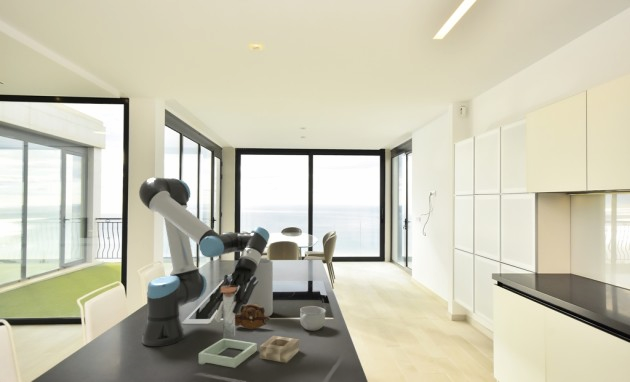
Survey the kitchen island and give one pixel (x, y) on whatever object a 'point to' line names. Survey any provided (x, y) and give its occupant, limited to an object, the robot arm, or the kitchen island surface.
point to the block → (279, 348)
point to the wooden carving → (251, 316)
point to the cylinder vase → (263, 287)
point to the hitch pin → (228, 309)
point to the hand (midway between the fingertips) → (222, 320)
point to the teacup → (312, 317)
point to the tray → (212, 352)
